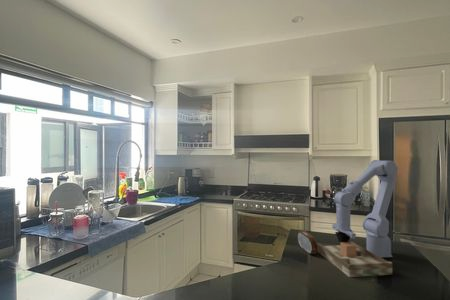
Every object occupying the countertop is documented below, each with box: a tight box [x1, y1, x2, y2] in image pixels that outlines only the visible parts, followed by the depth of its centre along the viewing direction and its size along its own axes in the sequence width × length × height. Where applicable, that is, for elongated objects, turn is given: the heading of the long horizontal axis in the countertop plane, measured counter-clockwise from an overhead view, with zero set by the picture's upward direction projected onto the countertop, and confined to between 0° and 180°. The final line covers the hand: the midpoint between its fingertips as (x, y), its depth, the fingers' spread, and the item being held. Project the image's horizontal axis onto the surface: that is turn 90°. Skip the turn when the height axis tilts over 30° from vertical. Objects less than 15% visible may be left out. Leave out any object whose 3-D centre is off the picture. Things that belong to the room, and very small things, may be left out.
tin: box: [297, 230, 318, 255], centre depth 117 cm, size 15×3×8 cm, turn 9°
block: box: [339, 241, 356, 257], centre depth 106 cm, size 4×4×4 cm
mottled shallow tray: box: [316, 241, 393, 278], centre depth 105 cm, size 18×24×4 cm
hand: (343, 248), depth 110 cm, fingers closed
